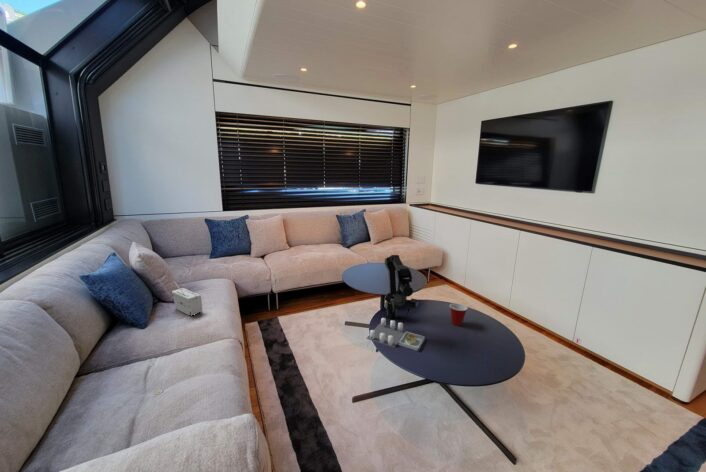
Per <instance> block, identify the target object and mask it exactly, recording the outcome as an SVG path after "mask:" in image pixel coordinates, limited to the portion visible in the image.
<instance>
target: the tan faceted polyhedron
mask: <svg viewBox="0 0 706 472" xmlns="http://www.w3.org/2000/svg"><path fill="white" fill-rule="evenodd" d="M414 334H415V333H414ZM414 334H408V335H407V341H406V342H407V343H409V344H410V345H413V344H416V342H417V336H416V335H414Z"/></svg>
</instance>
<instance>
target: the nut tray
mask: <svg viewBox="0 0 706 472" xmlns="http://www.w3.org/2000/svg"><path fill="white" fill-rule="evenodd" d="M408 334H414V335H416V336H417V342H416V344H413V345H410V344H409V343H407V342H406V341H407V335H408ZM424 341H425V336H423V335H421V334H417V333H415V332H414V333H413V332H410V331H407V330H406V332H405V333H404V334H403V336H402V337H401V339H400V340H399V342H398V343H397V345H398V346H401V347H404V348H406V349H410V350H413V351H416V352H419V350H420V349H421V347H422V345H423V344H424Z"/></svg>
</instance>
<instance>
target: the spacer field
mask: <svg viewBox="0 0 706 472" xmlns="http://www.w3.org/2000/svg"><path fill="white" fill-rule="evenodd" d="M406 331H407V330H406V329H404V323H403V322H398V323H397V327H396V320H394V319H390V324H389V325H388V324H387V317H382V318H381V319H380V323H379V324H377V326H376V327H375V328H374V329H371V330H369V335H368V336H367V337H366V338H365V339H366V340H368V341H372V342H376V343H379V344H382V345H385V346H389V347H391V348H395V347H396V346H397V345H398V343H399V341H400V339H401V338H402V336H403V335H404V334H405V332H406ZM371 337H372V338H371ZM372 339H373V340H372Z"/></svg>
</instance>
